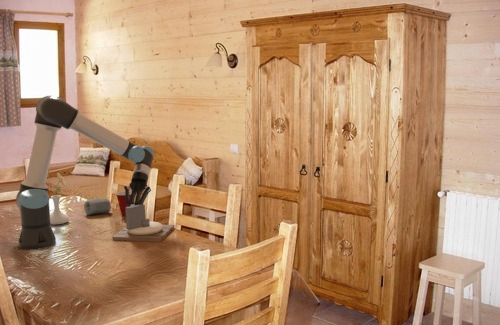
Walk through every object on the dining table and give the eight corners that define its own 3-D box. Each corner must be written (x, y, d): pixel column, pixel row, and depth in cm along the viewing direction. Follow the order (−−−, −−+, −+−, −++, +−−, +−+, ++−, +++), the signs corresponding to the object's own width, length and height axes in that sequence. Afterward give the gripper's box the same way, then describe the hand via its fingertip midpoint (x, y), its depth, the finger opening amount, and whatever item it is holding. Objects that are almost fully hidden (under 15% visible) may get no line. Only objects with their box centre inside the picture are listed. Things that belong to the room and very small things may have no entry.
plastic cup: (135, 211, 295) (134, 189, 293) (139, 215, 285) (138, 193, 283) (114, 213, 290) (113, 191, 289) (118, 217, 281) (117, 195, 279)
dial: (149, 223, 262) (149, 199, 260) (168, 230, 251) (168, 204, 249) (119, 230, 251) (117, 204, 250) (137, 237, 240) (136, 210, 238)
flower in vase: (62, 227, 264) (58, 176, 260) (40, 225, 267) (37, 175, 263) (75, 220, 277) (72, 171, 273) (55, 219, 279) (52, 170, 275)
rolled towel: (84, 211, 281) (87, 193, 284) (81, 216, 289) (84, 198, 292) (110, 215, 285) (113, 197, 289) (107, 219, 294) (110, 202, 297)
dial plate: (160, 241, 239) (160, 237, 239) (112, 240, 242) (112, 236, 242) (174, 228, 261) (174, 224, 260) (129, 226, 264) (129, 223, 263)
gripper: (155, 180, 264) (146, 222, 250) (129, 179, 266) (118, 221, 252) (152, 171, 258) (141, 214, 244) (125, 170, 260) (113, 213, 246)
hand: (130, 218), depth 248 cm, fingers closed
